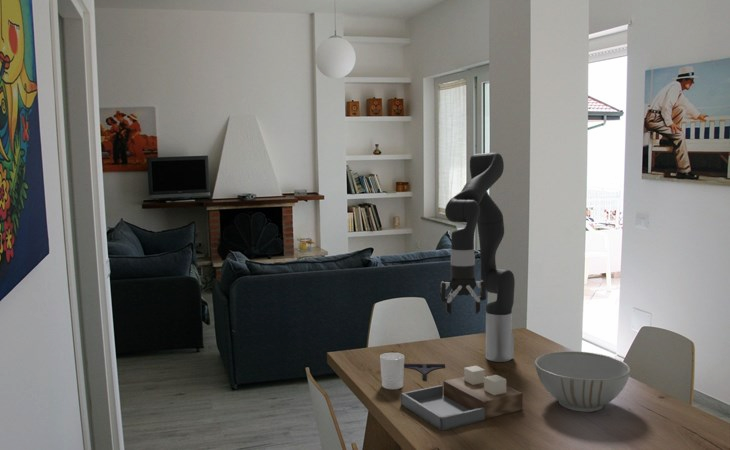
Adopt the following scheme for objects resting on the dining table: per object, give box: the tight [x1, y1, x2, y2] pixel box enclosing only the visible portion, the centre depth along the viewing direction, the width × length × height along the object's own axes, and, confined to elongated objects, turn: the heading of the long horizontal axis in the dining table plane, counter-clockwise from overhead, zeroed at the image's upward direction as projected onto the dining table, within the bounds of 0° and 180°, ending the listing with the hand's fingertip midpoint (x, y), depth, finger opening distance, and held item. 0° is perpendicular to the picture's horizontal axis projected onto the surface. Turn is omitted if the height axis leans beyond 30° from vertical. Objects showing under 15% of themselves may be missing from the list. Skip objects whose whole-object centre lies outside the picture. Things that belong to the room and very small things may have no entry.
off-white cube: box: [484, 374, 507, 395], centre depth 191 cm, size 4×4×4 cm
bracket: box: [404, 363, 446, 381], centre depth 224 cm, size 14×15×3 cm
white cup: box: [379, 352, 405, 390], centre depth 211 cm, size 8×8×10 cm
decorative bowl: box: [534, 350, 631, 413], centre depth 193 cm, size 27×27×12 cm
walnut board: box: [443, 375, 524, 419], centre depth 195 cm, size 14×20×5 cm
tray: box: [400, 384, 485, 431], centre depth 189 cm, size 14×22×4 cm, turn 27°
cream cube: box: [463, 365, 486, 385], centre depth 200 cm, size 4×4×4 cm
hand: (462, 313), depth 206 cm, fingers open, 8 cm apart
